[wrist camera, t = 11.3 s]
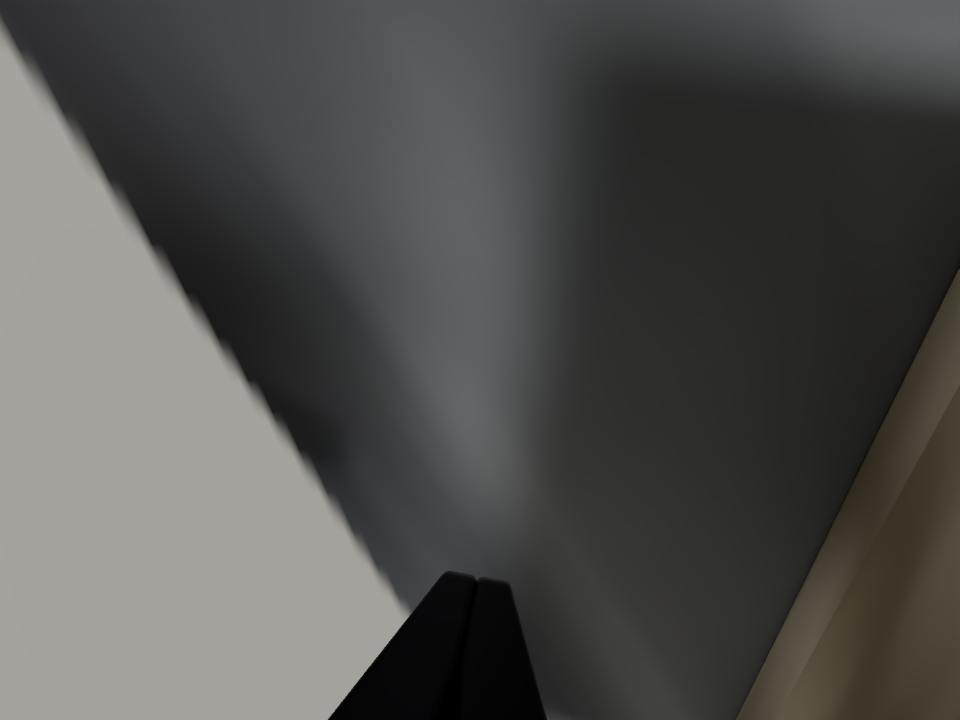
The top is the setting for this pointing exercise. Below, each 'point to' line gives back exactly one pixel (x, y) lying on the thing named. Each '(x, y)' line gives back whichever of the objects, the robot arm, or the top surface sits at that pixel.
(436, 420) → the top surface
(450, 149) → the top surface
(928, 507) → the tray
